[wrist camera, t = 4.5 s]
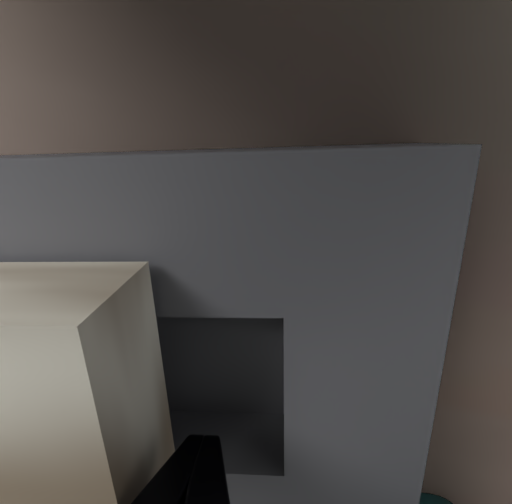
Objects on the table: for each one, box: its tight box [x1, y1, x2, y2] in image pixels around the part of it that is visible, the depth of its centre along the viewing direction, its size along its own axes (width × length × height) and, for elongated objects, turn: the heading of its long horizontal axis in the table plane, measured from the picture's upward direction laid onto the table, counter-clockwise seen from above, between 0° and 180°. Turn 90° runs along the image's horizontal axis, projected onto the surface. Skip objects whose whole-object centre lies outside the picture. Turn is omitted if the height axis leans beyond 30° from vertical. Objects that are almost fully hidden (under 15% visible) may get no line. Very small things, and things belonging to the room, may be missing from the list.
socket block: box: [0, 143, 482, 504], centre depth 11 cm, size 14×14×4 cm
